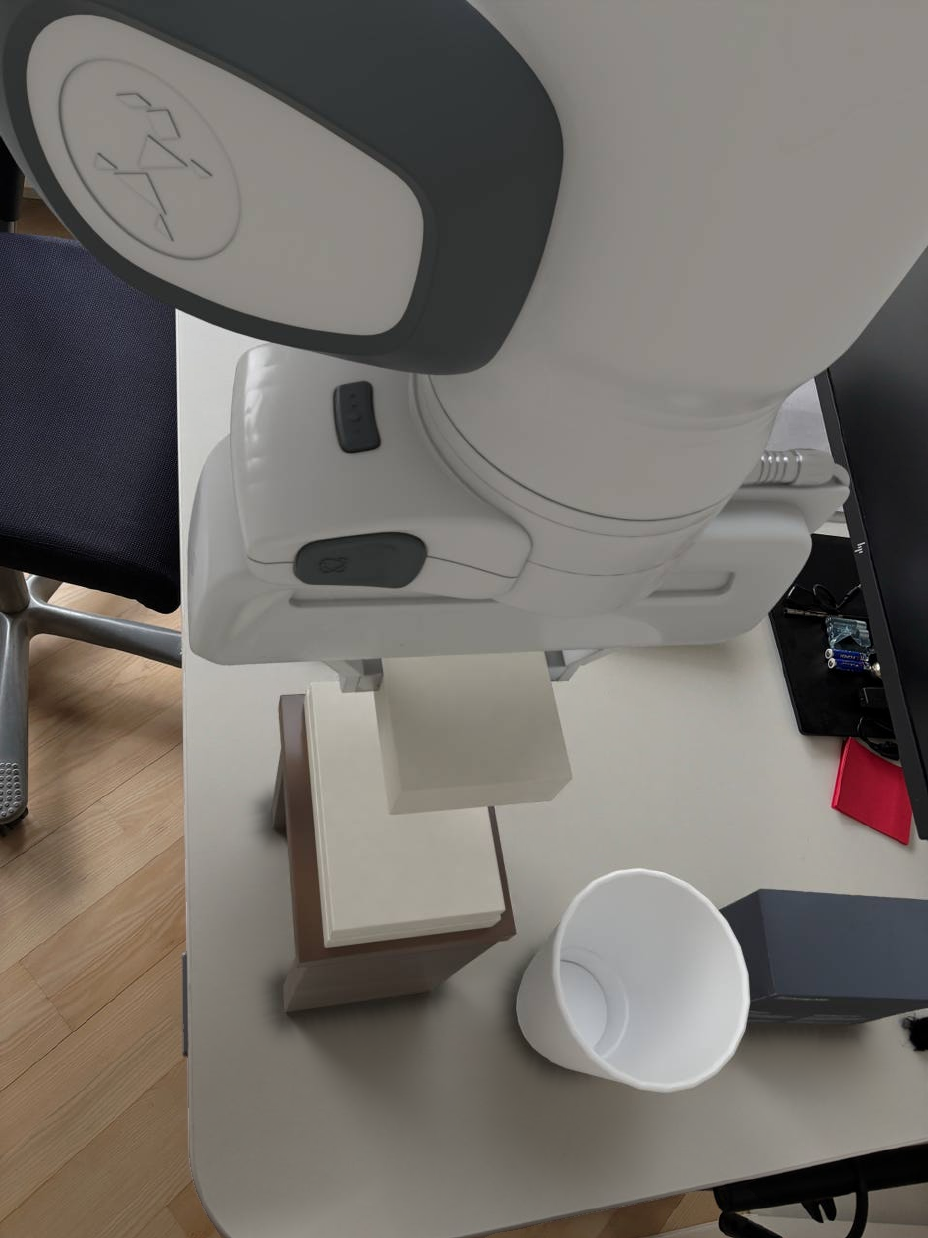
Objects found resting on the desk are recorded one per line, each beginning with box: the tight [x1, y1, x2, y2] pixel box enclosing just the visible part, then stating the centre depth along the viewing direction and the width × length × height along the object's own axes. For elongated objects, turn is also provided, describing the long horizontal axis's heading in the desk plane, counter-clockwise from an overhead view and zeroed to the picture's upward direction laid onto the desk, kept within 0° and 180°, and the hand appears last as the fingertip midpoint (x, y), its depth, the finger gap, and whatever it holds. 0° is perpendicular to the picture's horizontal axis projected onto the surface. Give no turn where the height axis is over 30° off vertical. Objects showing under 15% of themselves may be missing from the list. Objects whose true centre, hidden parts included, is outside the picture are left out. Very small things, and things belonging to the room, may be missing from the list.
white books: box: [304, 680, 505, 948], centre depth 47 cm, size 13×8×4 cm, turn 9°
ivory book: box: [373, 651, 574, 815], centre depth 36 cm, size 11×6×3 cm, turn 10°
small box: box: [718, 888, 928, 1026], centre depth 64 cm, size 13×7×12 cm, turn 90°
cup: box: [515, 867, 750, 1094], centre depth 58 cm, size 12×12×16 cm
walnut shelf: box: [271, 693, 518, 1013], centre depth 57 cm, size 14×11×20 cm
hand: (452, 670), depth 37 cm, fingers closed on ivory book, 6 cm apart
